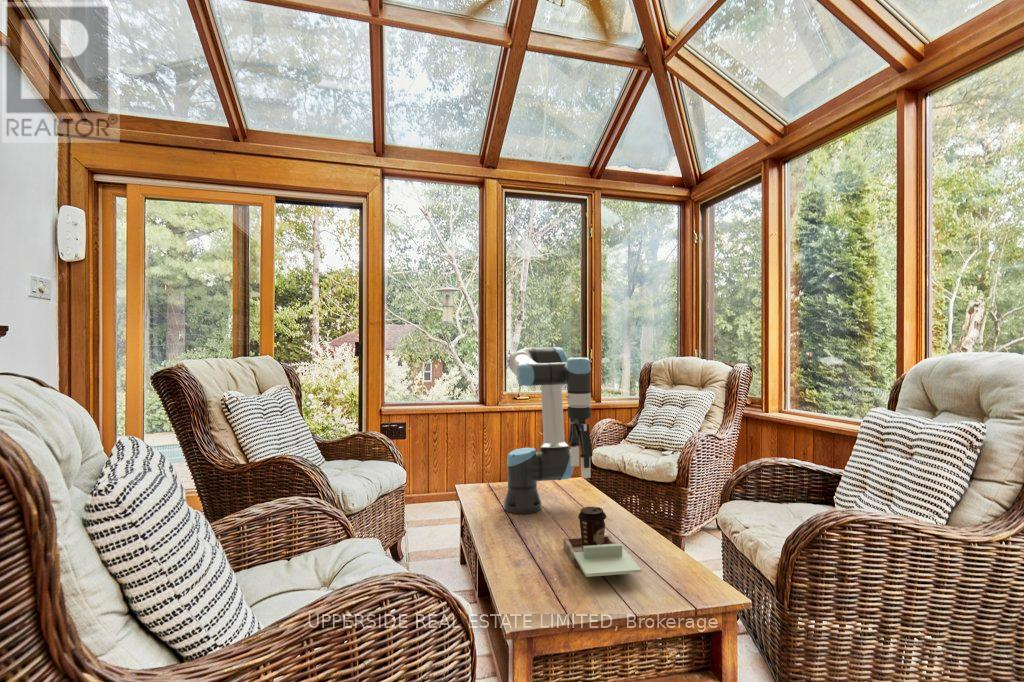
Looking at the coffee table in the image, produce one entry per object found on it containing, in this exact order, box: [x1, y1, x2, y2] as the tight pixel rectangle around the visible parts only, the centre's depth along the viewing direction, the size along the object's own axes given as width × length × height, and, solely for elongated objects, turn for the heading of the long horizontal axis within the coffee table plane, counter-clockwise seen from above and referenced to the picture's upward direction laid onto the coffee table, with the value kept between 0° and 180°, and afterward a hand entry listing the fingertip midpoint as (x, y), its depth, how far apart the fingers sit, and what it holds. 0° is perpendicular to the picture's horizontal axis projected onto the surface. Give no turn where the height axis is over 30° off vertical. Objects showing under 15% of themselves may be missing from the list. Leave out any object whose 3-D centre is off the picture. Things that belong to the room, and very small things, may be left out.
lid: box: [574, 542, 642, 578], centre depth 140 cm, size 14×15×4 cm
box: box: [563, 534, 617, 568], centre depth 154 cm, size 14×15×3 cm
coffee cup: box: [577, 506, 607, 552], centre depth 154 cm, size 9×8×13 cm
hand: (580, 471), depth 161 cm, fingers open, 13 cm apart
